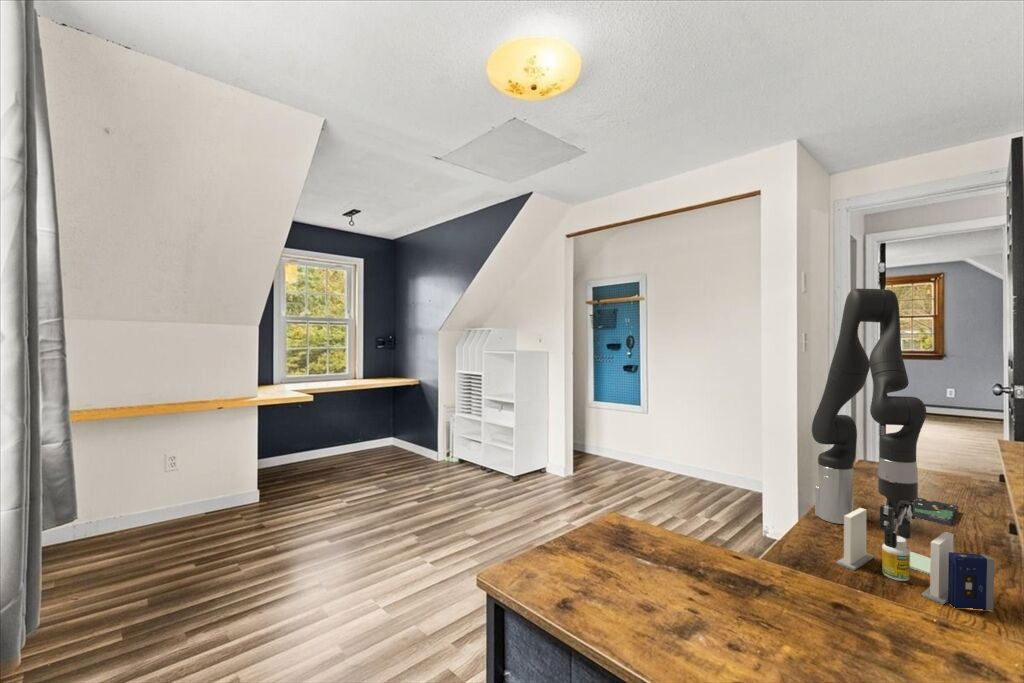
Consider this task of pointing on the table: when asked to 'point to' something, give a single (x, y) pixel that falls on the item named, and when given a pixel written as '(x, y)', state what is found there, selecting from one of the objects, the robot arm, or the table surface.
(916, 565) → the pad
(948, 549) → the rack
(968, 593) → the cassette player
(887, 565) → the supplement bottle
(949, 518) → the disk drive
